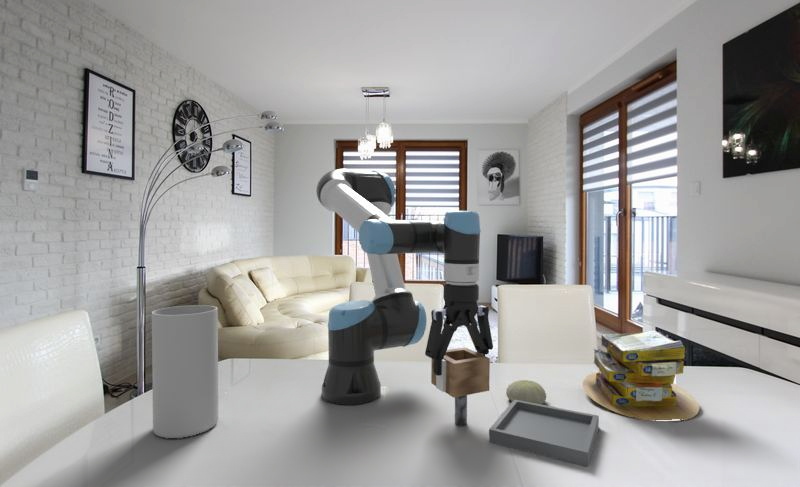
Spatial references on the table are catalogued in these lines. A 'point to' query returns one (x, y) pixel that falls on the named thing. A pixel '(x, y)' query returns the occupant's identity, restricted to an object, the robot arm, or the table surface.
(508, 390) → the sea urchin shell
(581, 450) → the tray
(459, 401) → the grey rounded cylinder
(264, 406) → the table surface
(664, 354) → the stack of yellow boxes
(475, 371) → the wooden light box
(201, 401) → the cylinder vase
